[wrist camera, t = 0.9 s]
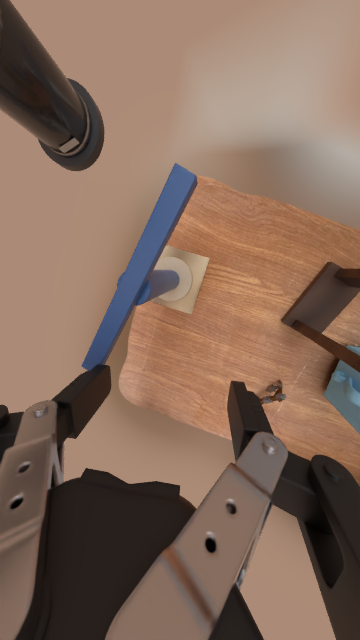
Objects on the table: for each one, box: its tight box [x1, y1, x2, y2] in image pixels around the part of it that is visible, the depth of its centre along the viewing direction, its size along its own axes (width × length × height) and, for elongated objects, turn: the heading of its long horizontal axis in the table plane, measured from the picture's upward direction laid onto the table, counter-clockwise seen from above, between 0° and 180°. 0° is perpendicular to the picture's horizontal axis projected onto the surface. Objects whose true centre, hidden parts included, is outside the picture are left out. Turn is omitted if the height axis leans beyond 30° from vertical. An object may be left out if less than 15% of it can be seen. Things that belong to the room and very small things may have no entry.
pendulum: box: [82, 164, 197, 371], centre depth 16 cm, size 5×13×12 cm, turn 149°
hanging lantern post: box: [259, 381, 286, 404], centre depth 39 cm, size 2×8×4 cm, turn 139°
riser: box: [150, 245, 209, 314], centre depth 29 cm, size 7×7×14 cm
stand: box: [281, 262, 360, 373], centre depth 25 cm, size 7×12×17 cm, turn 150°
